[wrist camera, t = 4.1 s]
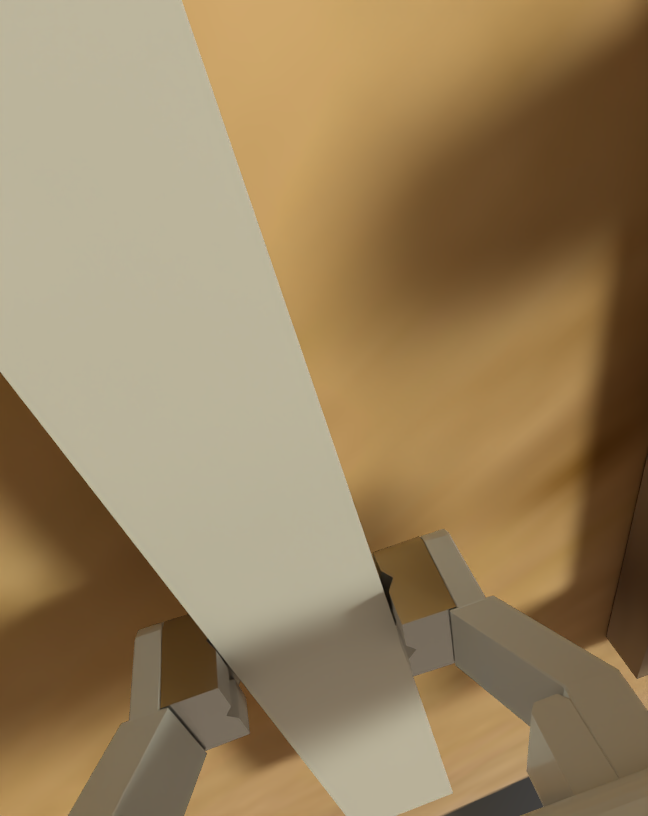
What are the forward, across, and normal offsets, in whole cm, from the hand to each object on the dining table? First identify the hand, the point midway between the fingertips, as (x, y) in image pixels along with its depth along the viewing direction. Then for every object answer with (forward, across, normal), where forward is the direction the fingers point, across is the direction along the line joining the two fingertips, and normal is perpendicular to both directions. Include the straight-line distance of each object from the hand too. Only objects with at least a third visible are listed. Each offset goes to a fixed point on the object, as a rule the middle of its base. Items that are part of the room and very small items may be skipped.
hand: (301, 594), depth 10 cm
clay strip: (+2, 0, 0) cm, 2 cm away
